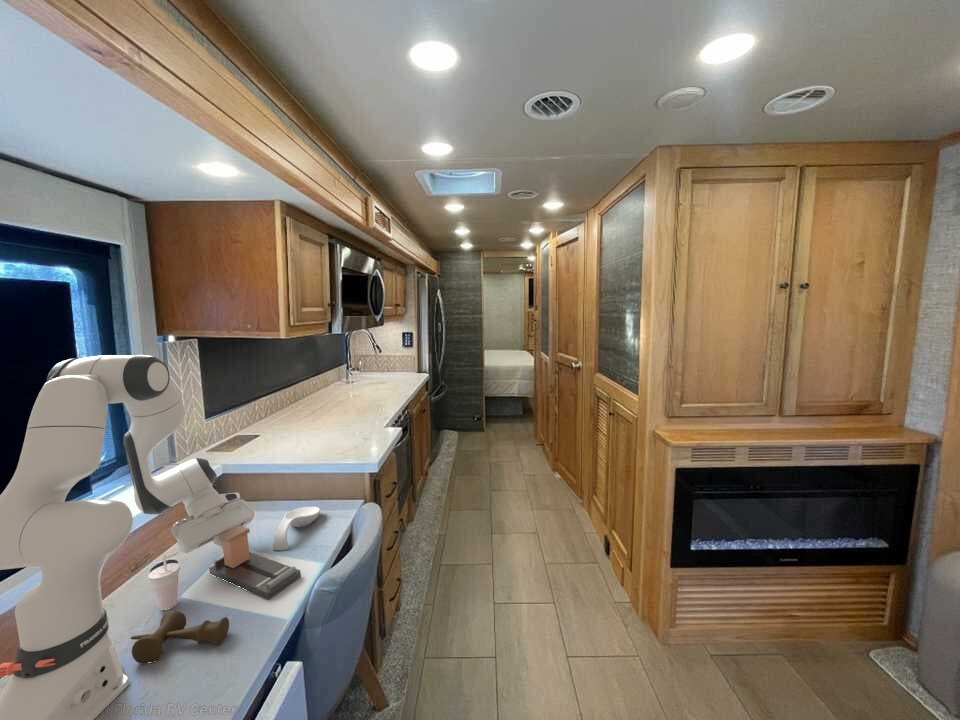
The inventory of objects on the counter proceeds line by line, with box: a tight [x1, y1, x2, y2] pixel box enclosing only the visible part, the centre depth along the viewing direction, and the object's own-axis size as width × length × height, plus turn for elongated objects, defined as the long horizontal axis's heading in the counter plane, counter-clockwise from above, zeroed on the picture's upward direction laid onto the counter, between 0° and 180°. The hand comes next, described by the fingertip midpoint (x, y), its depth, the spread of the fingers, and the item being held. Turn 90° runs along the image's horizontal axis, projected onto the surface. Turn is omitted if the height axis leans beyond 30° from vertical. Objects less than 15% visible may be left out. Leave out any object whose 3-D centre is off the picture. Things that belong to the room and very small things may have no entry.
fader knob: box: [219, 525, 251, 568], centre depth 115 cm, size 5×6×9 cm
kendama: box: [130, 609, 230, 664], centre depth 88 cm, size 6×10×20 cm
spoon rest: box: [272, 506, 321, 551], centre depth 136 cm, size 24×12×7 cm, turn 3°
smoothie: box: [148, 553, 181, 611], centre depth 101 cm, size 6×6×14 cm
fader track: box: [208, 551, 302, 601], centre depth 112 cm, size 26×10×4 cm, turn 64°
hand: (230, 547), depth 116 cm, fingers closed, pressing on fader knob
